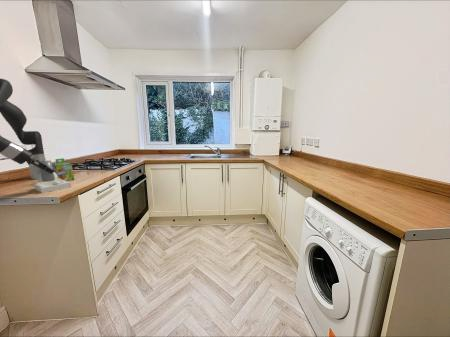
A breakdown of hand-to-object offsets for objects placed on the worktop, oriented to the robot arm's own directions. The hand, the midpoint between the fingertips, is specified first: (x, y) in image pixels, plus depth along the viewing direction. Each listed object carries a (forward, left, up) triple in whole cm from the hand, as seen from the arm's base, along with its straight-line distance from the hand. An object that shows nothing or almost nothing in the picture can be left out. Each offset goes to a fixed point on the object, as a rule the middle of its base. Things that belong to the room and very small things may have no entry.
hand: (51, 171), depth 110 cm
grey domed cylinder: (0, -2, -5) cm, 5 cm away
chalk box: (-19, +10, -10) cm, 24 cm away
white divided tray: (-2, 0, -10) cm, 10 cm away
